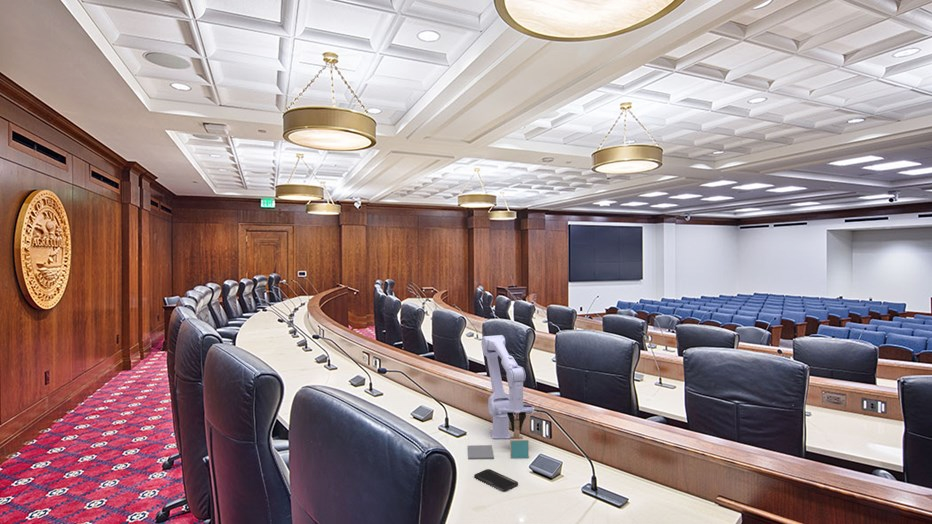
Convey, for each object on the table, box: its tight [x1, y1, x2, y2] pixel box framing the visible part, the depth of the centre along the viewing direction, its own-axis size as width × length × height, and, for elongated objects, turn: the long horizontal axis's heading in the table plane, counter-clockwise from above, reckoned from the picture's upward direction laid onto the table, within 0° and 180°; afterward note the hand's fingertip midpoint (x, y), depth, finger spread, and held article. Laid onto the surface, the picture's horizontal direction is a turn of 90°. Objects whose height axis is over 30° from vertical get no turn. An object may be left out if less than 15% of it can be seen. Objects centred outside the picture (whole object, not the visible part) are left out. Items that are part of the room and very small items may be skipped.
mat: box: [467, 444, 495, 460], centre depth 180 cm, size 12×10×1 cm
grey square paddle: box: [509, 418, 524, 440], centre depth 182 cm, size 5×5×8 cm
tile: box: [509, 438, 530, 459], centre depth 175 cm, size 1×7×7 cm, turn 91°
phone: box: [473, 468, 519, 493], centre depth 156 cm, size 8×1×15 cm
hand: (516, 430), depth 183 cm, fingers closed on grey square paddle, 2 cm apart
